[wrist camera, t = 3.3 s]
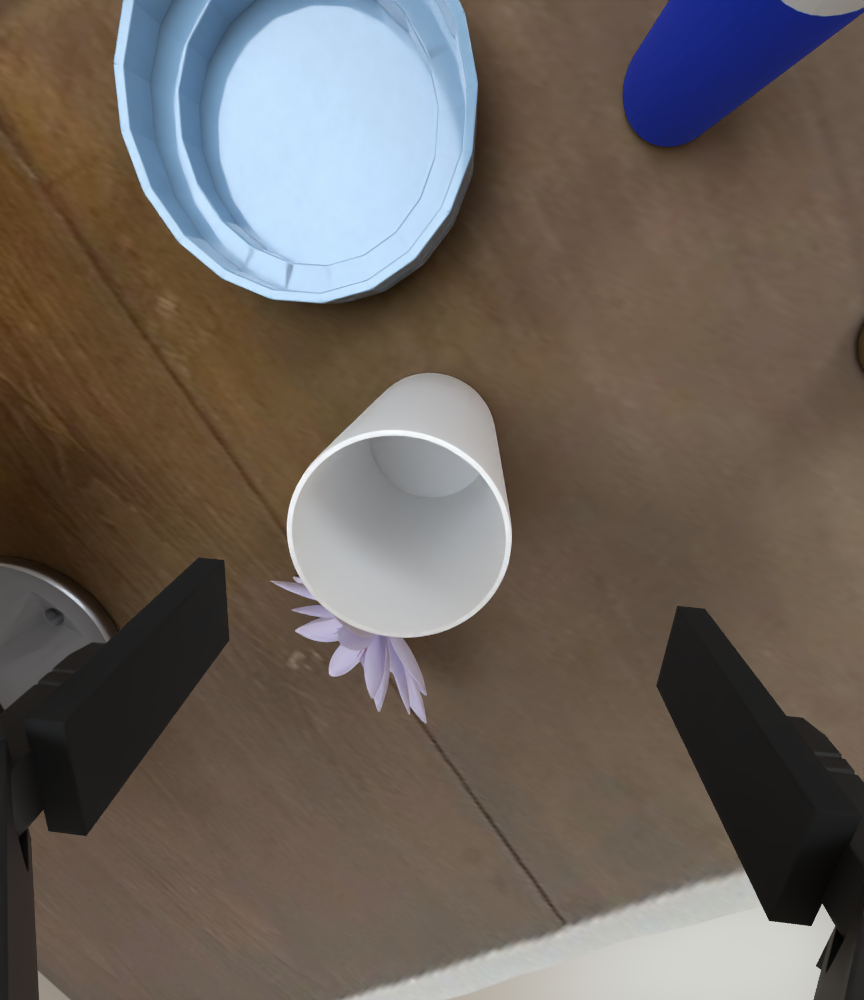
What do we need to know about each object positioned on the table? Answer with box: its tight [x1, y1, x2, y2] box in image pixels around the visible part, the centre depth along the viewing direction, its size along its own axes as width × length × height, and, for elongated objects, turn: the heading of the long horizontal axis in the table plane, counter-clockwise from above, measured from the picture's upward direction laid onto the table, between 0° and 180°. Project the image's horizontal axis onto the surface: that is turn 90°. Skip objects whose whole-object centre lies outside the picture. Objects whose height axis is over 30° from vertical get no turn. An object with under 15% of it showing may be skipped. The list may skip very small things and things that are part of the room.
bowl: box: [114, 0, 478, 304], centre depth 27 cm, size 17×17×5 cm
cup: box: [287, 373, 512, 638], centre depth 27 cm, size 8×8×16 cm
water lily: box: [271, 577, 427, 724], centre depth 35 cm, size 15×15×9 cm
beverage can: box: [623, 0, 864, 147], centre depth 20 cm, size 5×5×15 cm
